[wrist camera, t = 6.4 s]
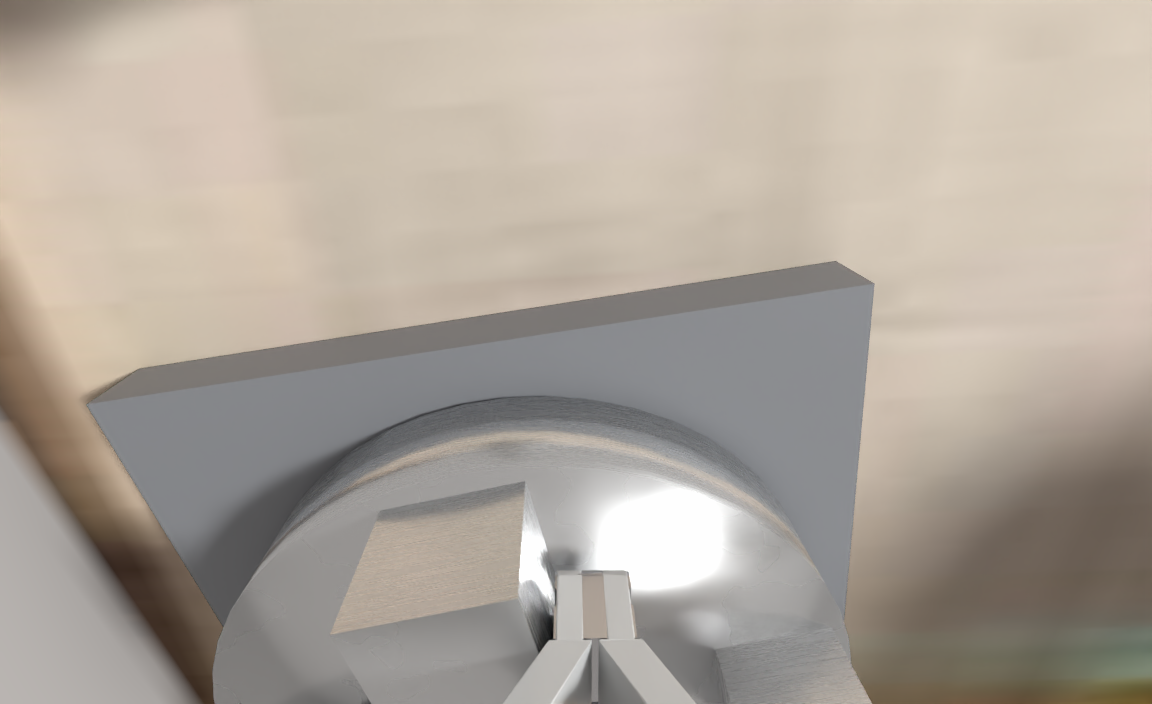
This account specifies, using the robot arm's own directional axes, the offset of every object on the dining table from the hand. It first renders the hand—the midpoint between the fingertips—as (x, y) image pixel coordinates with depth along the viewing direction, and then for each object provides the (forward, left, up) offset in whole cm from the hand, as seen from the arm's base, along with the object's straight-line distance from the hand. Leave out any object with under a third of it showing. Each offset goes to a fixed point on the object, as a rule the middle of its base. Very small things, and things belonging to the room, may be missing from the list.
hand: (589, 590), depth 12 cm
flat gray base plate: (+2, +6, -6) cm, 9 cm away
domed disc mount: (+2, +6, -4) cm, 7 cm away
